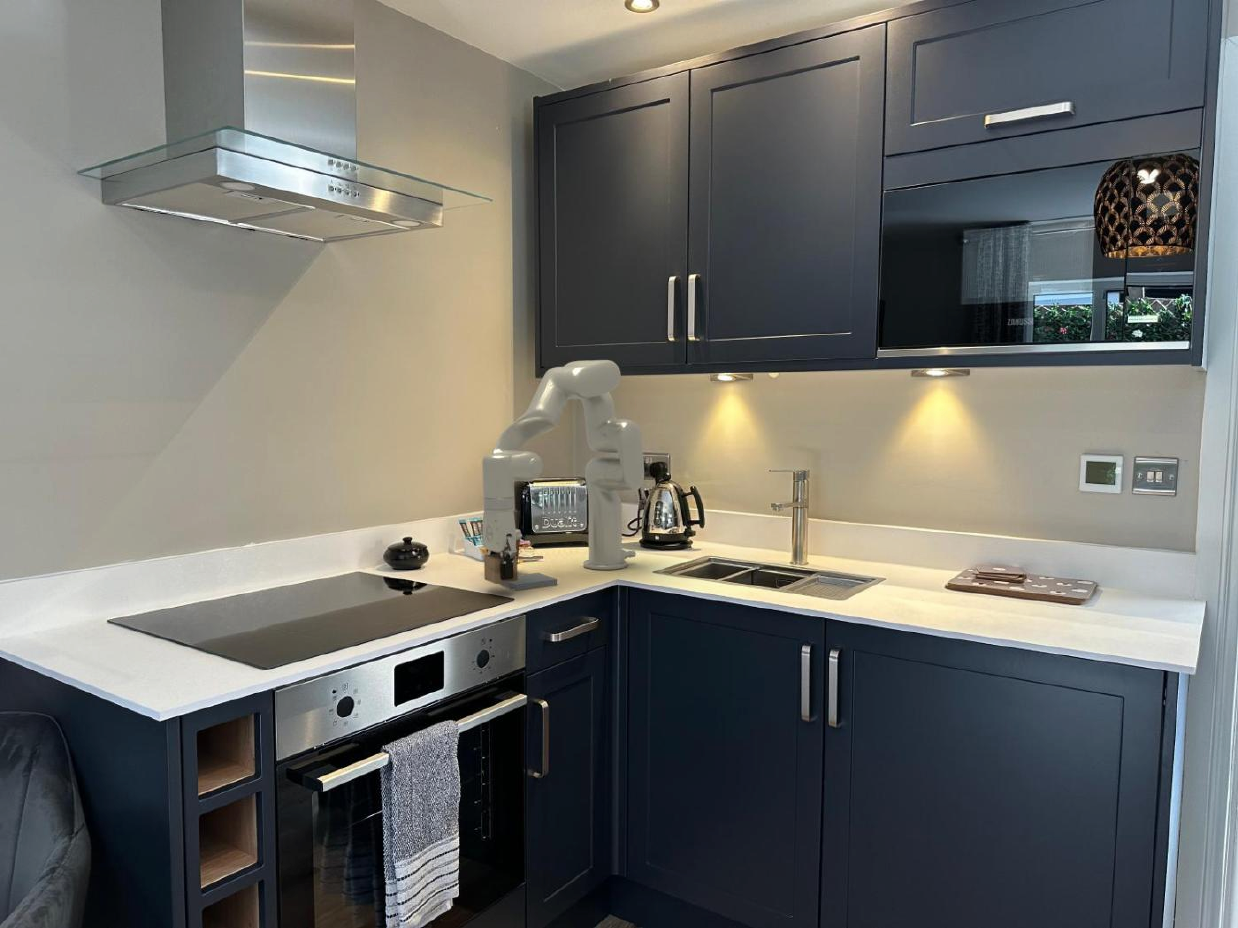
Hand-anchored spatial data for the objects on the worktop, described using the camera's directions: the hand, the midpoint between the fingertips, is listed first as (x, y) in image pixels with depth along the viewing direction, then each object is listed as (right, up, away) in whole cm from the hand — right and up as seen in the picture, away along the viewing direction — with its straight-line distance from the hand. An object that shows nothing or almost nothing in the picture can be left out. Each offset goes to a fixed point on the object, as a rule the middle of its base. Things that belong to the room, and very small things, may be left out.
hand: (500, 576), depth 206 cm
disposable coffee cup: (-2, -3, +24) cm, 24 cm away
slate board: (+5, -4, +11) cm, 13 cm away
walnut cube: (0, -1, 0) cm, 1 cm away
